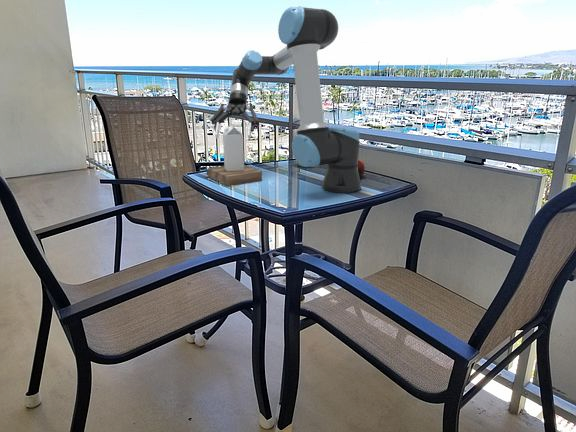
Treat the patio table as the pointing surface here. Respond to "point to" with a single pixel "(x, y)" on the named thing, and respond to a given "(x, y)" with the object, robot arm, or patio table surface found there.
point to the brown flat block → (234, 175)
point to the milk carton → (233, 149)
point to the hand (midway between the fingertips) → (232, 137)
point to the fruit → (361, 167)
